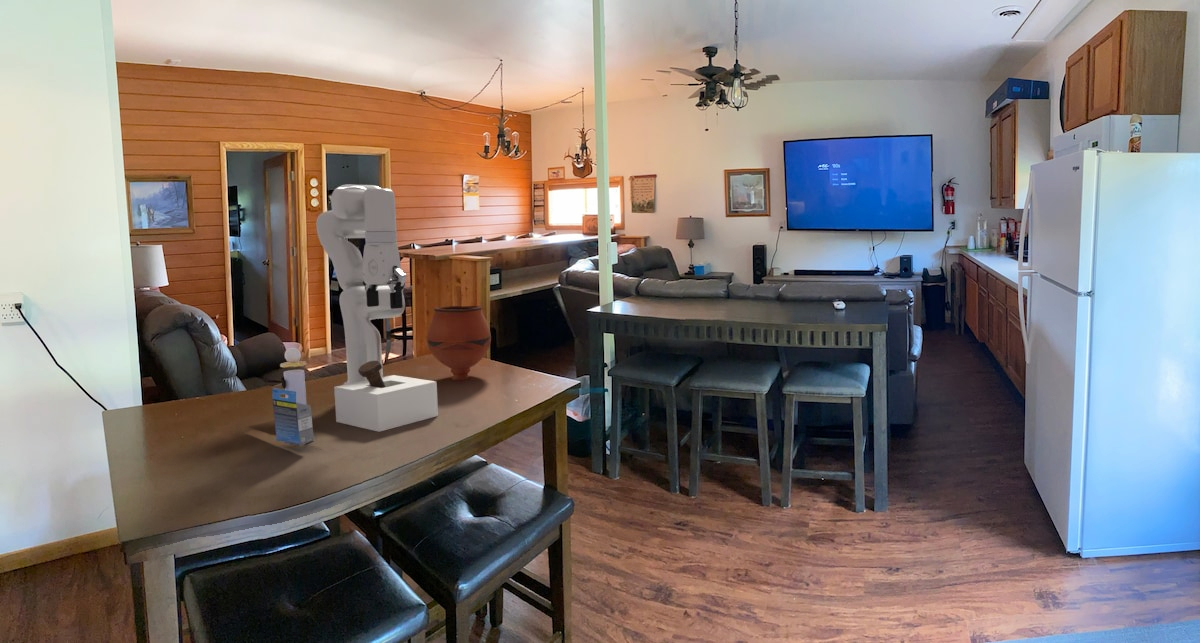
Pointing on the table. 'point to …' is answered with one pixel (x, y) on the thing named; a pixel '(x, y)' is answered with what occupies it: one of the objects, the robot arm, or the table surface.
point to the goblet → (459, 338)
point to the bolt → (372, 373)
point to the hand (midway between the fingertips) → (384, 307)
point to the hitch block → (386, 403)
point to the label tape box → (292, 418)
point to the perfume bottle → (294, 375)
